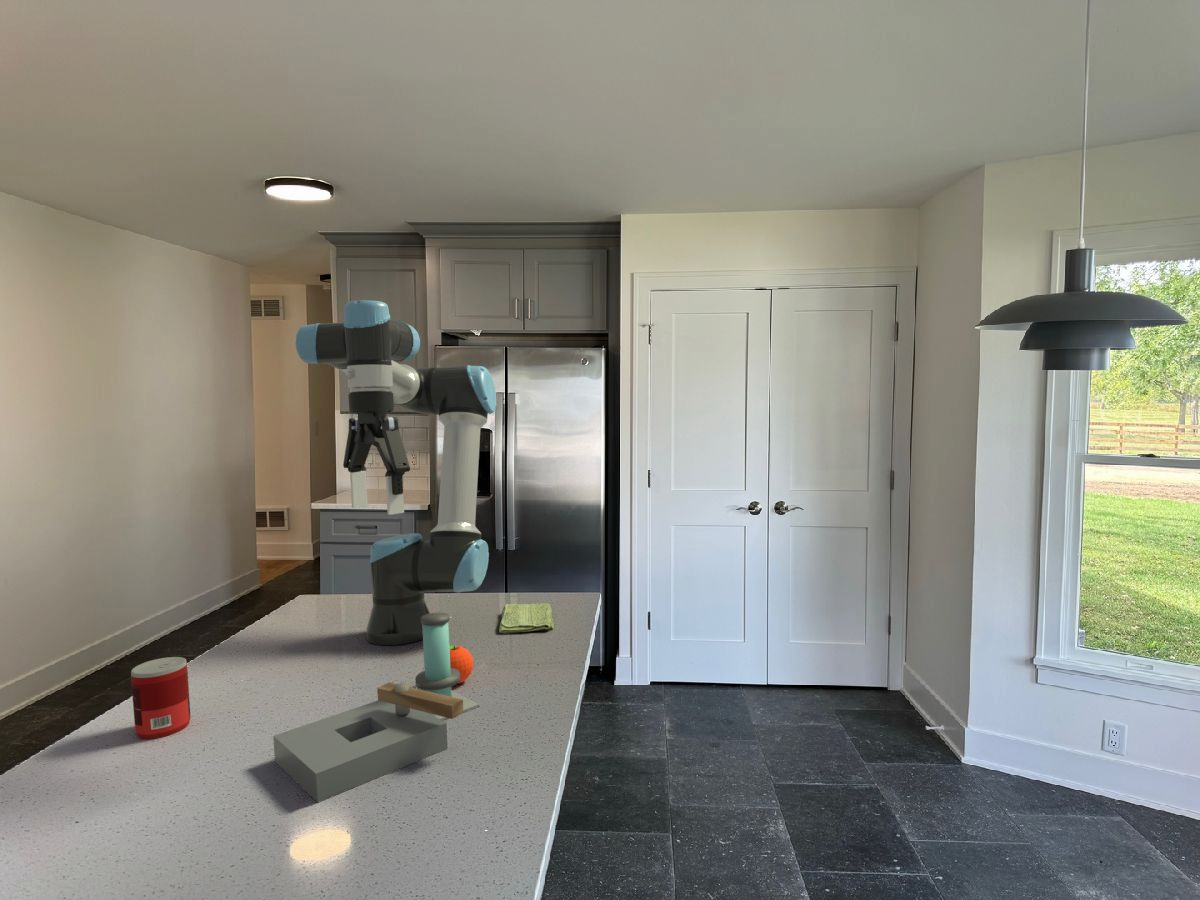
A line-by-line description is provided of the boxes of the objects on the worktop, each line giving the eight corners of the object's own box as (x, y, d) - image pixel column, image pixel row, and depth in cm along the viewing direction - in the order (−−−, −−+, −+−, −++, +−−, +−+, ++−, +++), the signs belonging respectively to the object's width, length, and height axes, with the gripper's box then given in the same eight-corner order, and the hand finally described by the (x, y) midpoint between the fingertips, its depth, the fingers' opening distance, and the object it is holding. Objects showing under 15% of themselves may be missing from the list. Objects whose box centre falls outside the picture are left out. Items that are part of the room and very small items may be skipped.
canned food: (201, 721, 119) (197, 658, 119) (158, 742, 112) (153, 676, 111) (168, 715, 122) (164, 654, 121) (124, 736, 114) (119, 671, 114)
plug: (408, 705, 122) (404, 617, 121) (446, 692, 127) (442, 607, 126) (431, 718, 116) (426, 626, 115) (469, 704, 121) (465, 615, 121)
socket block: (274, 761, 104) (273, 735, 104) (397, 717, 118) (395, 694, 118) (317, 802, 93) (316, 773, 93) (447, 748, 107) (446, 723, 106)
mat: (399, 708, 122) (399, 706, 122) (448, 690, 129) (448, 688, 129) (428, 725, 115) (428, 723, 114) (479, 706, 121) (479, 704, 121)
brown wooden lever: (390, 704, 113) (388, 678, 113) (463, 723, 105) (462, 695, 105) (378, 710, 111) (377, 684, 111) (452, 730, 103) (451, 702, 103)
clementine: (425, 685, 132) (423, 648, 131) (449, 672, 138) (447, 637, 137) (458, 692, 128) (456, 654, 127) (481, 678, 134) (480, 642, 134)
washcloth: (498, 637, 160) (497, 623, 159) (502, 614, 177) (501, 602, 177) (555, 633, 161) (554, 620, 161) (553, 611, 178) (553, 599, 178)
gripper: (320, 393, 128) (326, 507, 129) (384, 387, 110) (391, 519, 112) (359, 392, 133) (365, 502, 135) (426, 387, 116) (432, 513, 117)
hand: (377, 510), depth 123 cm, fingers open, 13 cm apart
